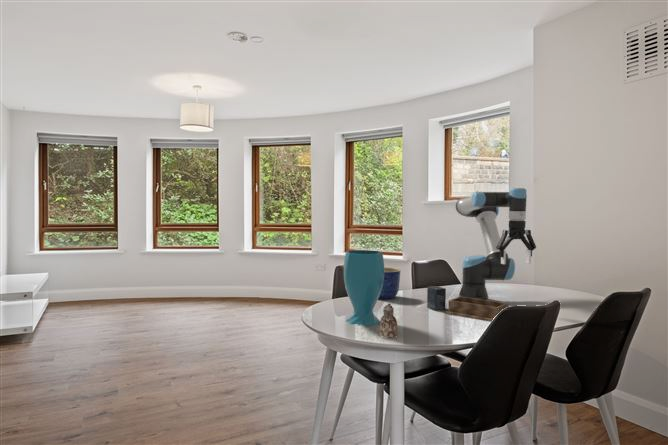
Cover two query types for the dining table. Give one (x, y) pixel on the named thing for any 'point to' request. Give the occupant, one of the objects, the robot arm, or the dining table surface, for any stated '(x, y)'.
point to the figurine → (388, 323)
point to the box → (436, 298)
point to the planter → (390, 283)
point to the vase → (363, 283)
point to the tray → (475, 308)
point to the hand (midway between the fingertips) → (515, 263)
